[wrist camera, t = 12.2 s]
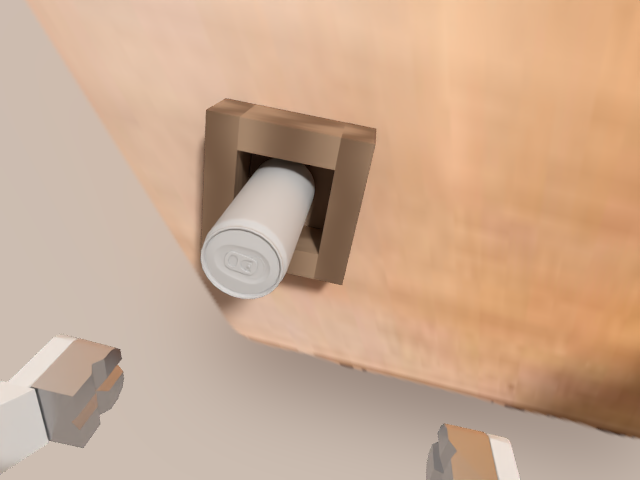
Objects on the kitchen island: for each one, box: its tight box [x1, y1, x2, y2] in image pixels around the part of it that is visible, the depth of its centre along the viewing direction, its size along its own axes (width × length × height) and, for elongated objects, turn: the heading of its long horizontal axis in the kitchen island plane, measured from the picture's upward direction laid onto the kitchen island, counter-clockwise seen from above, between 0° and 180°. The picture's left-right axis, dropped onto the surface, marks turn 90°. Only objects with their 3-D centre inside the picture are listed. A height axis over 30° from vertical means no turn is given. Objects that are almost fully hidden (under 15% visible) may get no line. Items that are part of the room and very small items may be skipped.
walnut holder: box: [201, 99, 376, 285], centre depth 32 cm, size 11×11×4 cm
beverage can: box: [201, 158, 315, 299], centre depth 28 cm, size 5×5×12 cm
